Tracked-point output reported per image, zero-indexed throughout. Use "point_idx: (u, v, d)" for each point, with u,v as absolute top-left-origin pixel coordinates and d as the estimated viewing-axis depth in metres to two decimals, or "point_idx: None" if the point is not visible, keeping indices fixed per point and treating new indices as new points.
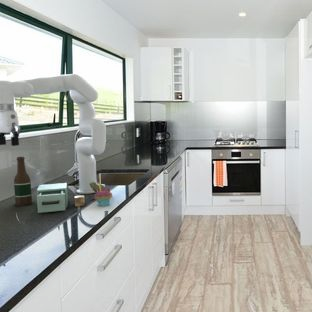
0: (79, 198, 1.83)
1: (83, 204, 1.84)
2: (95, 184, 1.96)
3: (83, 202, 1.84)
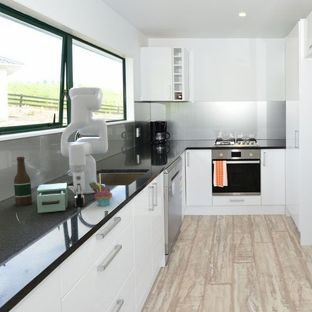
0: None
1: (83, 204, 1.84)
2: (95, 184, 1.96)
3: (83, 202, 1.84)
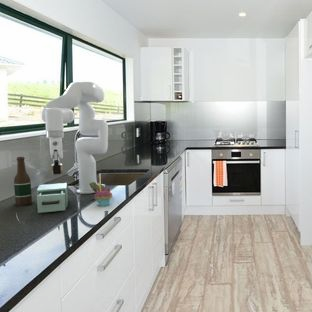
0: None
1: (61, 172, 1.74)
2: (95, 184, 1.96)
3: (61, 170, 1.74)
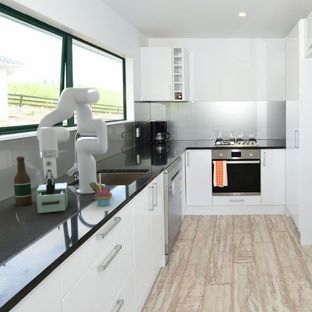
0: None
1: None
2: (95, 184, 1.96)
3: None
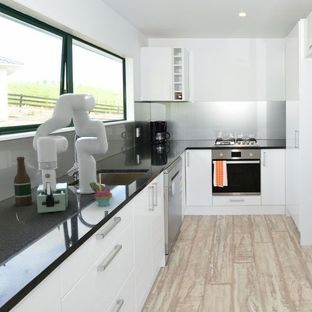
0: None
1: None
2: (95, 184, 1.96)
3: None
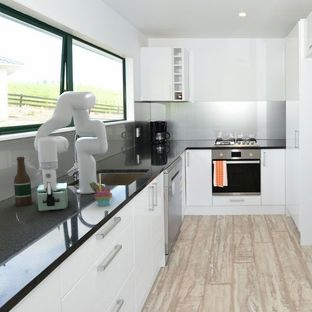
0: None
1: None
2: (95, 184, 1.96)
3: None
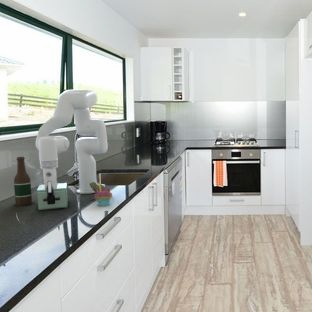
0: None
1: None
2: (95, 184, 1.96)
3: None
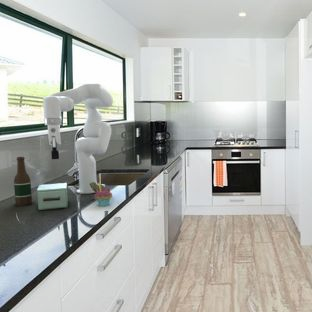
0: None
1: None
2: (95, 184, 1.96)
3: None
